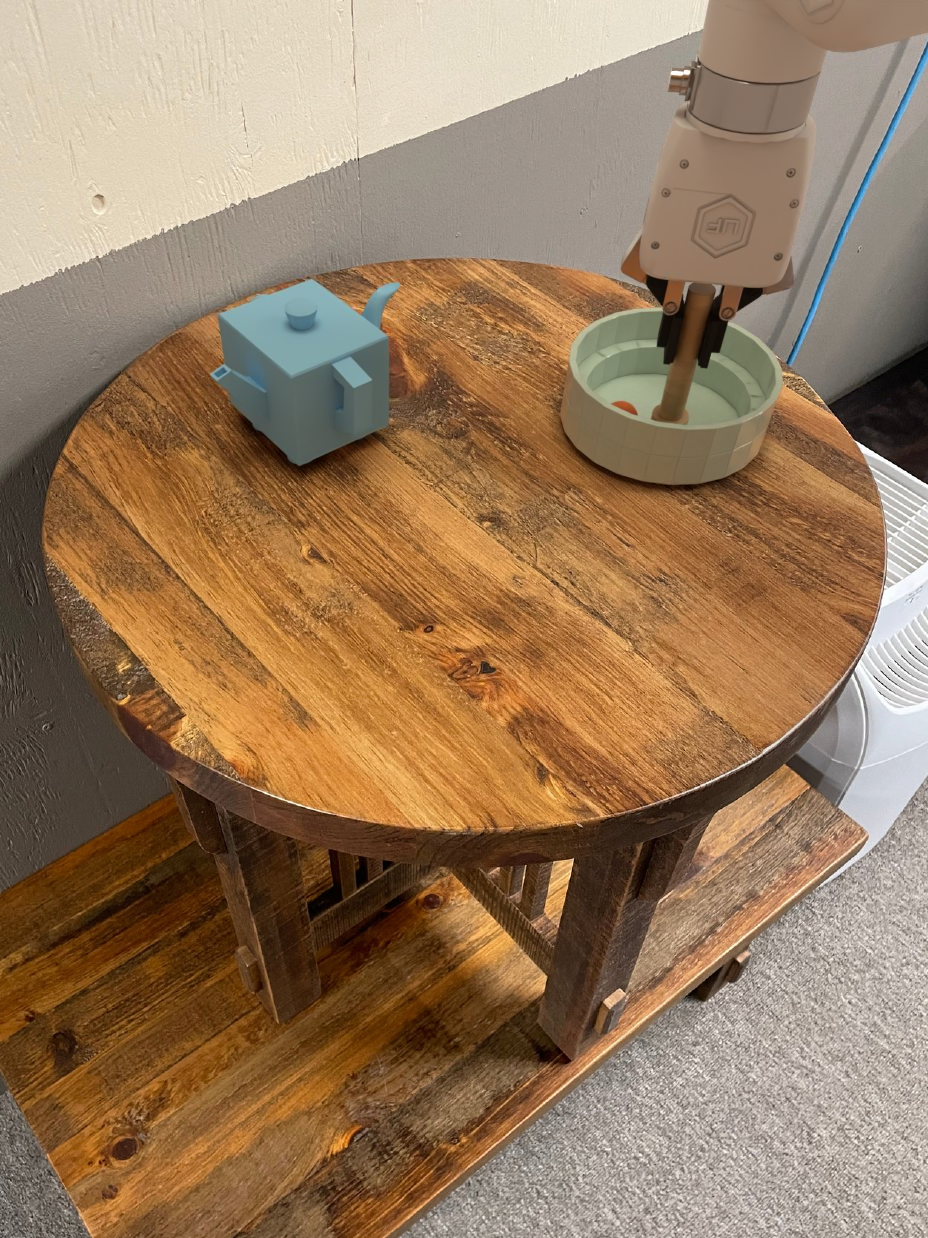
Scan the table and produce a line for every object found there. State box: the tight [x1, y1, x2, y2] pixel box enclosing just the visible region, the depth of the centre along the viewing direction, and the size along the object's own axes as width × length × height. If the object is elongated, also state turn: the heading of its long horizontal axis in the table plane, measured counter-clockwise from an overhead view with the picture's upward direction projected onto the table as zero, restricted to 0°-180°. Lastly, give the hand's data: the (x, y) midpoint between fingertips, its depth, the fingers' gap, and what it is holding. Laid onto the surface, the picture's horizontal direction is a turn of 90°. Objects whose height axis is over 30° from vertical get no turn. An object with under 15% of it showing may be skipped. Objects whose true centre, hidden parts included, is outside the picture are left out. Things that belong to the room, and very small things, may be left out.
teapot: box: [209, 278, 401, 467], centre depth 82 cm, size 16×18×11 cm
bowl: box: [559, 306, 784, 486], centre depth 84 cm, size 17×17×6 cm
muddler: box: [651, 282, 717, 425], centre depth 78 cm, size 3×3×12 cm
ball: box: [612, 401, 638, 416], centre depth 83 cm, size 3×3×3 cm
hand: (685, 355), depth 77 cm, fingers closed on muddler, 2 cm apart
